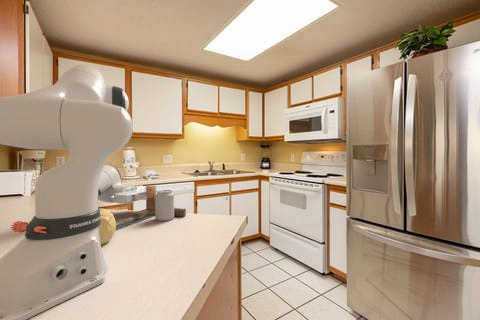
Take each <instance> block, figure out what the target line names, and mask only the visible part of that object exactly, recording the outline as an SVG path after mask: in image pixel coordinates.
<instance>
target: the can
mask: <svg viewBox="0 0 480 320" xmlns="http://www.w3.org/2000/svg"><path fill="white" fill-rule="evenodd" d="M174 208H175V194H174V193H173V190H172V189H161V190H157V194H156V195H155V216H154V218H155V220H157V221H159V222H167V221H172V219H173V218H174V217H175V216H174Z"/></svg>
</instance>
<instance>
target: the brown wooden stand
mask: <svg viewBox="0 0 480 320" xmlns="http://www.w3.org/2000/svg"><path fill="white" fill-rule="evenodd" d="M145 187H146V195H147V196H148V197H147V198H148V199H146V200H145V203H146V205H145V209H142V210H138V211H136V212H133V213H132V218H133V219H135V218H136V219H140V218H143V217H146V216H148V215H151V214H154V213H155V195H156V189H157V185H154V184H152V185H151V184H148V185H146V186H145ZM186 212H187V209H186V208H182V207H181V208H179V207H174V217H183V218H184V217H186V215H187V213H186Z"/></svg>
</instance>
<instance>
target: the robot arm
mask: <svg viewBox="0 0 480 320" xmlns="http://www.w3.org/2000/svg"><path fill="white" fill-rule="evenodd" d="M129 102H130V101H129V97H128V95H127V92H126V91H125V90H124V89H123V88H122V87H119V86H114V85H113V86H110V85H106V81H105V78H104V77H103V75H102V73H101V72H100V71H99V70H98V69H96V68H95V67H93V66H91V65H88V64H87V65H86V64H77V65H74V66H72V67H70V68H69V69H66V71H64V73H63V74H61V76H60V77H59V79H58V80H57V81H56V82H55V84H52V85H49V86H47V87H43V88H40V89H37V90H34V91H33V90H32V91H29V92H26V93H21V94H14V95H6V96H0V145H3V146H4V145H5V146H9V147H15V148H22V149H28V150H68V151H69V152H70V154H69V156H68V159H67V160H66V161H65V162H64V163H60V164H59V165H56V166H53V167H51V168H49V169H47V170H45V171H43V172H42V173H41V174H40V175H39V176H38V177H37V179H36V181H35V183H34V206H35V207H34V209H35V210H34V212H35V213H34V214H35V215H34V216H32V219H31V220H30V221H29V222H27V221H20V220H18V221H15V222H13V223H12V224H11V227H10V229H11V231H13V232H15V233H16V232H17V233H25V234H24V238H22V239H21V241H20V242H18V243H17V244H16V245H15V246H13V247H12V248H11V249H10V250H9V251H8V252H6V253H5V254H3V256H2V257H0V320H27V319H30V318H32V317H34V316H36V315H37V314H38V315H39V314H40V313H42V312H44V311H46V310H48V309H51V308H53V307H55V306H57V305H59V304H61V303H63V302H65V301H67V300H70V299H72V298H73V297H76V296H77V295H80V294H82V293H84V292H86V291H89V290H90V289H92V288H94V287H97V286H99V285H100V284H103V283H104V282H105V280H106V279H105V273H106V271H107V268H108V266H107V263H106V261H105V257H104V255H103V250H102V245H101V244H100V236H99V225H100V219H101V218H100V209H101V208H99V201H100V202H104V203H109V204H115V203H116V204H119V205H130V204H132V203H134V202H138V201H141V200H143V201H146V199H148V198H147V197H148V196H147V195H146V186H143V185H142V184H138V185H137V184H135V185H134V184H123V182H122V181H123V178H122V176H121V172H120V170H119V169H118V168H117V167H115V166H114V165H111V164H107V162H108V161H109V159H110V158H111V157H112V156H113V155H114V154H115V153H116V152H117V151H119V150H120V149H122V148H124V146H126V145H127V144H128V142H129V141H130V140H131V139H132V138H131V137H132V135H133V132H134V131H133V130H134V124H133V119H132V117H131V115H130V114H129V111H128V109H129V106H130V103H129ZM157 191H158V189H157V188H156V194H157Z"/></svg>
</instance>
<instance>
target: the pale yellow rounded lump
mask: <svg viewBox="0 0 480 320" xmlns="http://www.w3.org/2000/svg"><path fill="white" fill-rule="evenodd" d="M99 209H100V218H101V219H100V225H99V236H100V244H101V246H102V245H105V244H106V243H108V242H109V241H110V240H112V238H113V237H114V235H115V233H116V231H117V230H116V225H117V221H116V219H115V216H114V214H113V212H110V211H108V210H107V209H106V208H99ZM115 230H116V231H115Z"/></svg>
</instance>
